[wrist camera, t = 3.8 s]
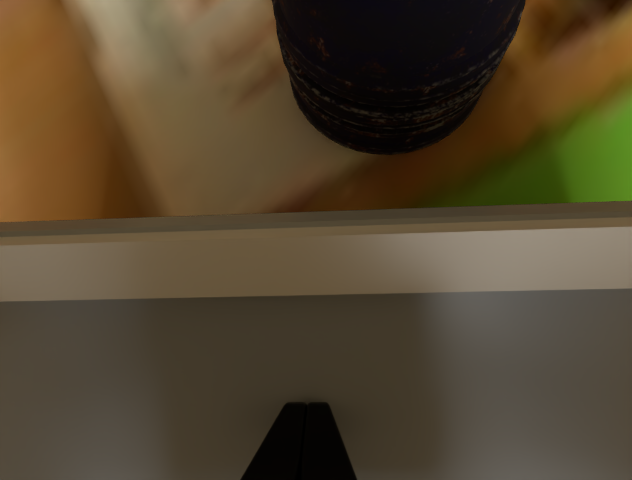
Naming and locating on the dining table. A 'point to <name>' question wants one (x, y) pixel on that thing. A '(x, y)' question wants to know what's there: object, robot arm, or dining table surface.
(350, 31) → the storage jar
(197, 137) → the dining table surface
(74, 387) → the duct cover
